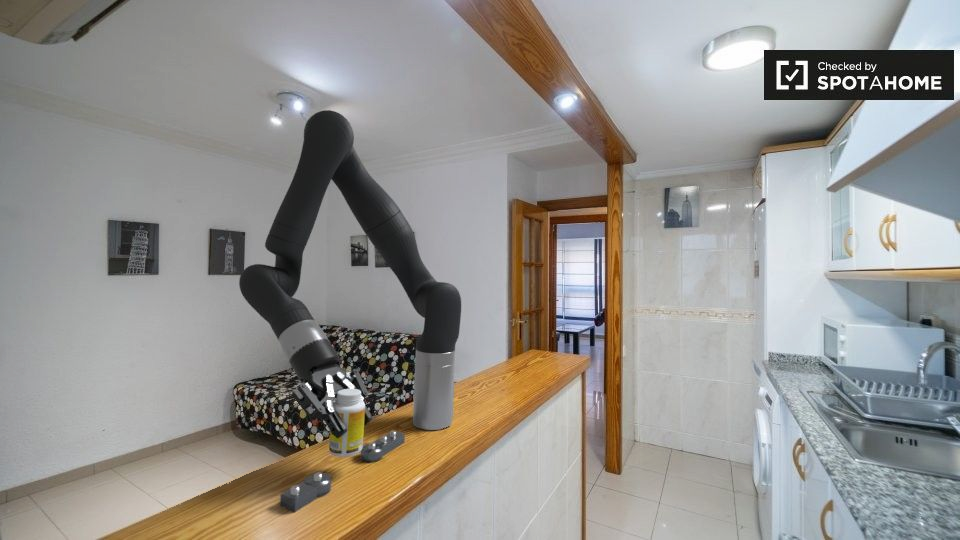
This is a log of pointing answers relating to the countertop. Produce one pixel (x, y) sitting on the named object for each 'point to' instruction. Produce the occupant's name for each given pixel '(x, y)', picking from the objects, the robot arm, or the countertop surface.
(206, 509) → the countertop surface
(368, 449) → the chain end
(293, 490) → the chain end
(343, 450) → the supplement bottle
